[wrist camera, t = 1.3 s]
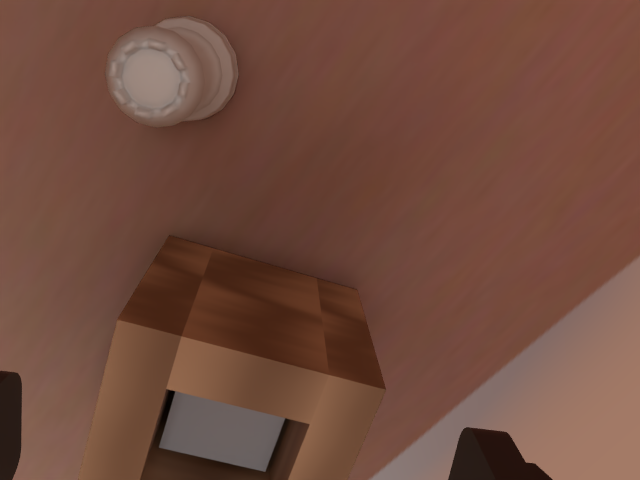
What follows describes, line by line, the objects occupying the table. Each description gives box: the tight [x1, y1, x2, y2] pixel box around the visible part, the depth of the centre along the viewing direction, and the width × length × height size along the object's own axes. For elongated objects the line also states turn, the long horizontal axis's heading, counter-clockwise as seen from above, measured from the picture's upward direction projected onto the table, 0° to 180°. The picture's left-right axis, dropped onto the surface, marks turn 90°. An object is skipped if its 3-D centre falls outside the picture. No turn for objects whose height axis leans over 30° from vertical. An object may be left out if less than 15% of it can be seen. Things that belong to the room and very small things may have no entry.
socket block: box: [78, 235, 386, 480], centre depth 26 cm, size 10×10×9 cm
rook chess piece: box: [105, 16, 239, 128], centre depth 21 cm, size 4×4×8 cm
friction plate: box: [159, 391, 285, 472], centre depth 25 cm, size 5×5×1 cm
